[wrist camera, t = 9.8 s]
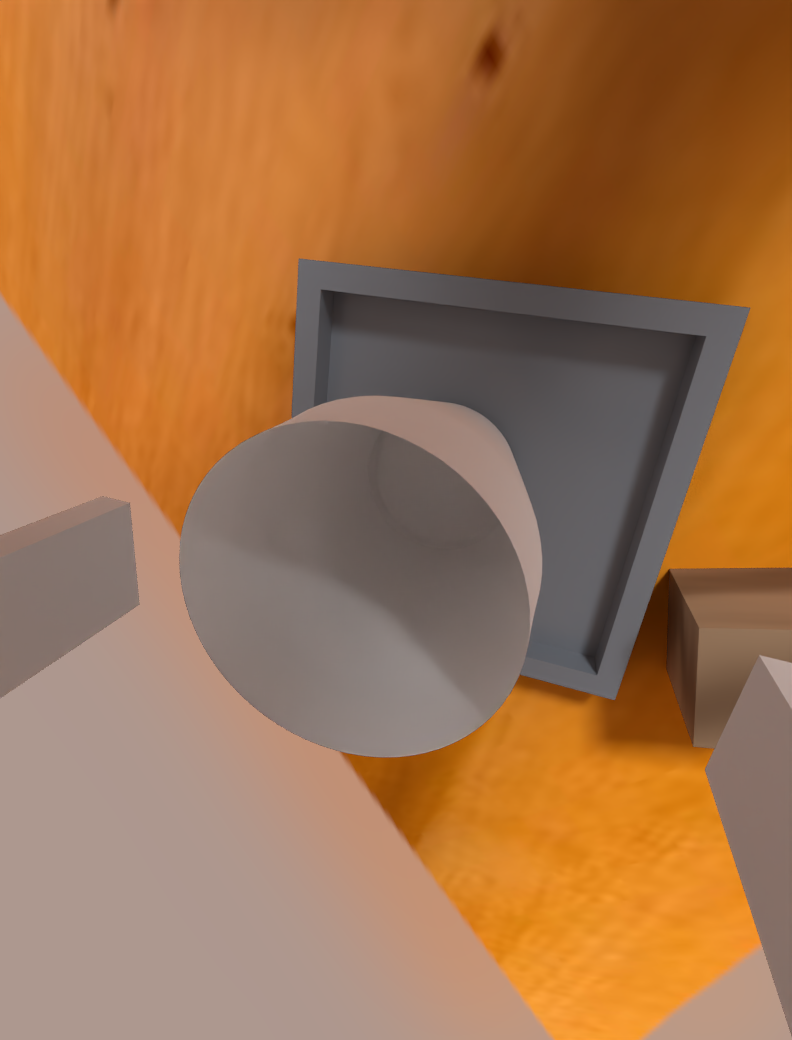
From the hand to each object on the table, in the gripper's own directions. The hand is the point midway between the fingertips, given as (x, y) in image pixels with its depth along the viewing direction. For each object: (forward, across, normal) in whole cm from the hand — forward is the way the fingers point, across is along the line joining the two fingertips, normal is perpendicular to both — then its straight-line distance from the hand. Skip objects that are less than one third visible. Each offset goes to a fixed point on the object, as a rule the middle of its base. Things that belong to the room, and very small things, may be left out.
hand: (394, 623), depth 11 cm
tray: (+13, 0, -1) cm, 13 cm away
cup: (+13, -2, -1) cm, 13 cm away
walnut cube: (+14, +12, -5) cm, 18 cm away
